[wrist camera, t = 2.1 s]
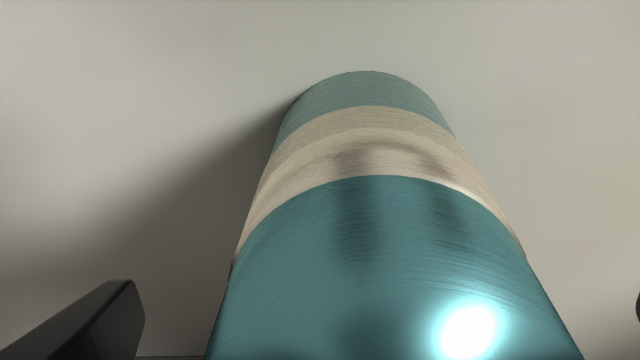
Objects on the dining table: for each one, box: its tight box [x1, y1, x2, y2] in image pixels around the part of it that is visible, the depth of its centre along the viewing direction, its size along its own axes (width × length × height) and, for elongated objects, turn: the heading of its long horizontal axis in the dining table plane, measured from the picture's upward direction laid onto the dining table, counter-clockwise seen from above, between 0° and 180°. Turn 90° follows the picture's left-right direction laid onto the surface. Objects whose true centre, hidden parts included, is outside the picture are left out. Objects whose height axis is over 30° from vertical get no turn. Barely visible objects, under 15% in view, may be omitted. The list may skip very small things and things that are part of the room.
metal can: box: [203, 71, 585, 360], centre depth 9 cm, size 5×5×8 cm
